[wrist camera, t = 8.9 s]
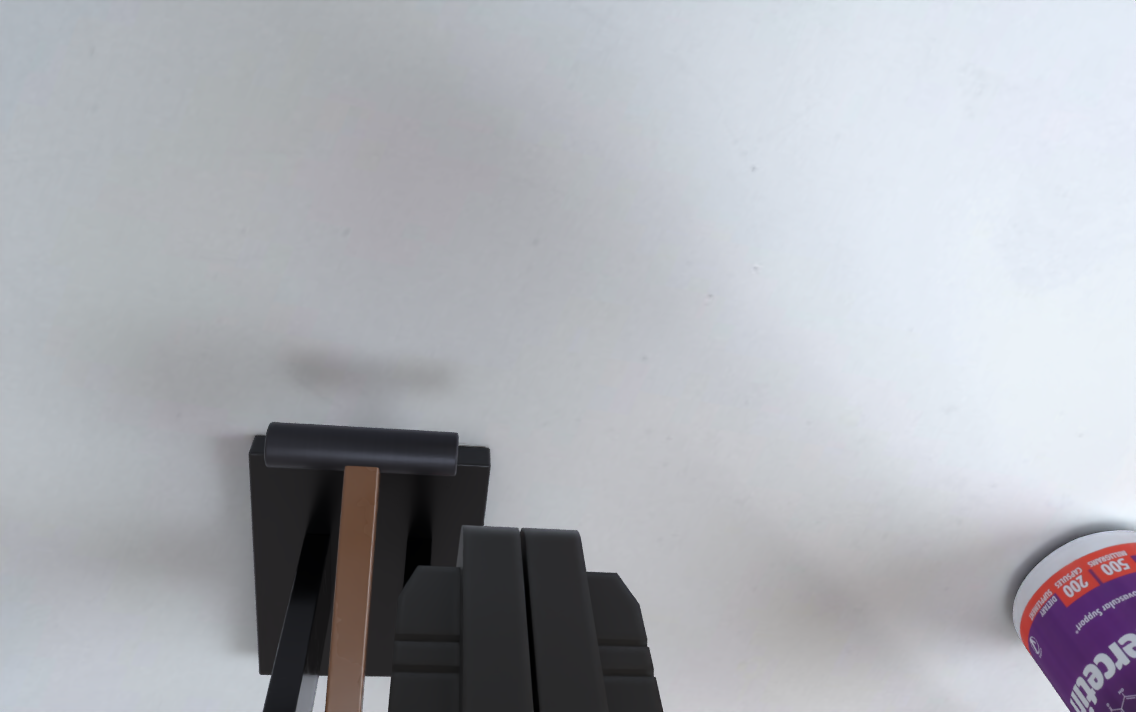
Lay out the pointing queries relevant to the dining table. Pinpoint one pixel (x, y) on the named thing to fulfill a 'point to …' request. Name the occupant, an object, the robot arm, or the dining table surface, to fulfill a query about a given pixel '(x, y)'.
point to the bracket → (309, 559)
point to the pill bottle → (1084, 621)
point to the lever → (356, 522)
